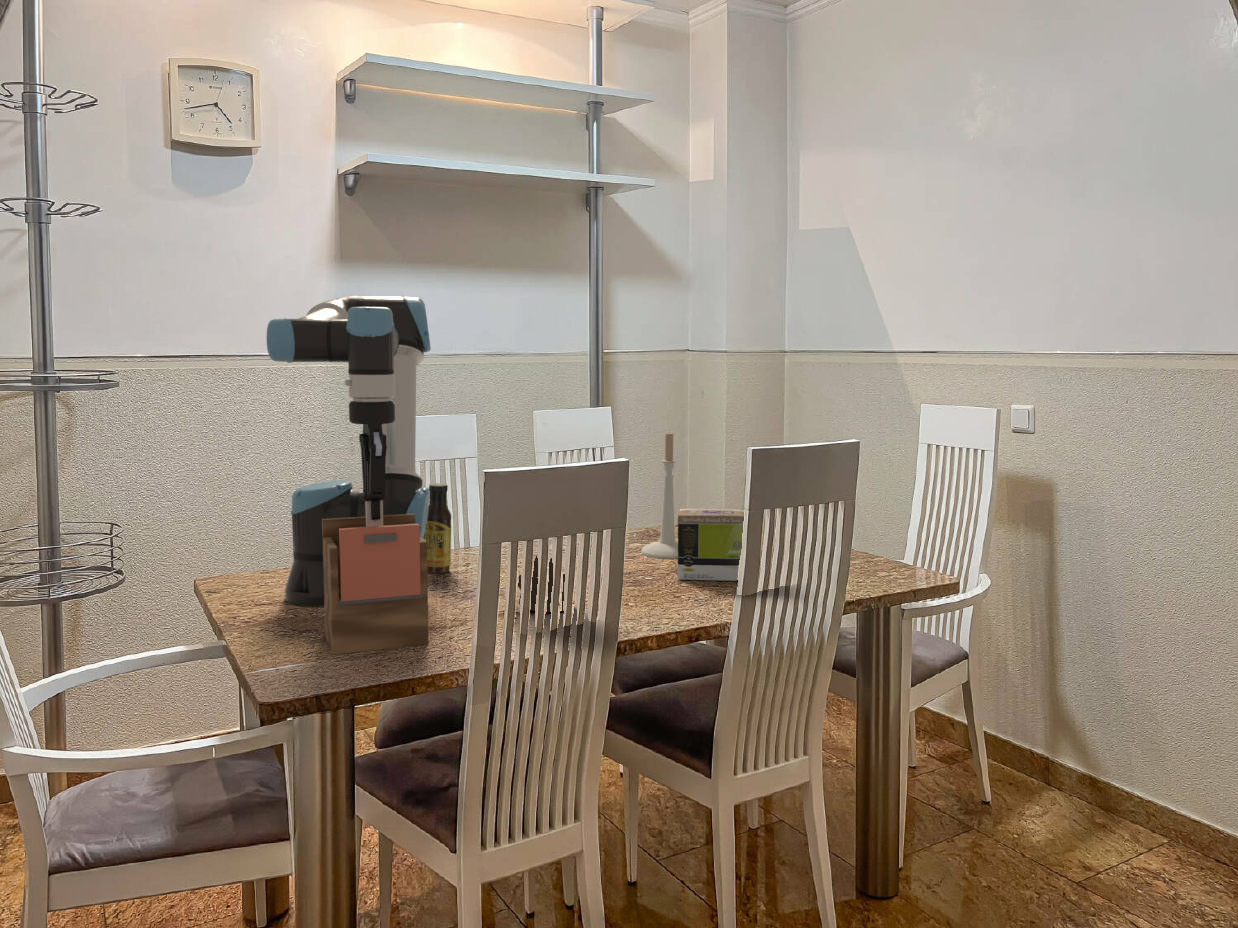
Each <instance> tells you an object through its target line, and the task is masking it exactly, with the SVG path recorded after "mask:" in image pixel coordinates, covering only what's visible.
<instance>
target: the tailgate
mask: <svg viewBox="0 0 1238 928" xmlns="http://www.w3.org/2000/svg"><path fill="white" fill-rule="evenodd" d="M339 547H340V585H341V599H339V605H340V606H341V605H352V604H363V603H373V602H384V601H395V600H406V599H417V598H422V592H421V584H420V525H419V524H403V525H387V526H371V527H355V528H339Z"/></svg>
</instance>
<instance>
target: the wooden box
mask: <svg viewBox="0 0 1238 928" xmlns="http://www.w3.org/2000/svg"><path fill="white" fill-rule="evenodd" d="M403 524H415V514H399V515H383V526H387V525H403ZM355 527H366V516H365V517H348V518H331V519H322V542H323V577H324V606H323V608H324V609H323V610H324V636H325V639H326V641H327V644H328V647H329V648H330V651H331V654H332V655H340V654H341V655H342V654H343V655H344V654H349V653H350V654H353V653H358V652H359V653H360V652H367V651H368V652H369V651H377V650H378V651H379V650H387V649H397V648H404V647H405V648H406V647H415V646H416V647H417V646H422V645H429V643H430V642H429V595H428V592H429V590H428V588H429V587H428V583H429V582H428V579H429V578H428V573H427V541H426V540H424V539H423V538H422V537H421V536H420V584H421V592H422V598H417V599H406V600H395V601H384V602H373V603H363V604H352V605H341V606H340V605H339V599H341V585H340V547H339V528H355Z"/></svg>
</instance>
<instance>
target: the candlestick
mask: <svg viewBox="0 0 1238 928" xmlns="http://www.w3.org/2000/svg"><path fill="white" fill-rule="evenodd" d="M664 435H665V436H664V442H665V443H664V459H662V460H661V462H662V464H663V466H662V467H663V469H664V471H665V472H664V473H665V474H664V481H663V495H662V507H661V508H662V510H661V524H660V534H659V535H660V537H659V541H655V542H651V543H649V544H646V545H645V546H643V547H642V548H641V551H640V552H641V554H642V555H643V556H645V557H649V558H655V559H656V558H657V559H662V560H663V559H669V560H670V559H672V560H673V559H676V560H677V559H678V541H677V540H676V533H675V506H674V474H673V470H674V468H675V464H676V462H677V460H674V433H673V432H666V433H664Z"/></svg>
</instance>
